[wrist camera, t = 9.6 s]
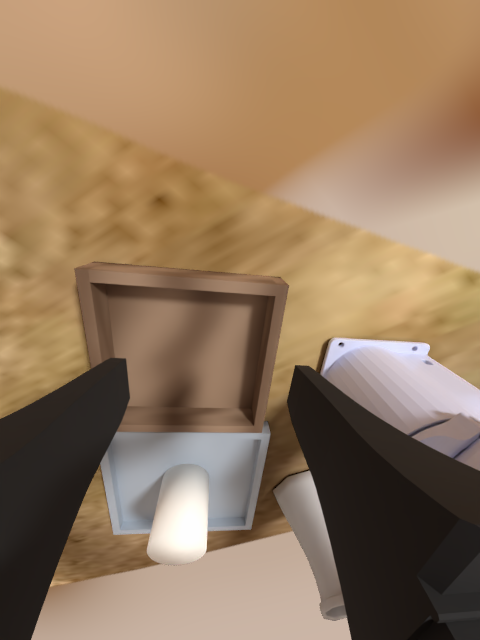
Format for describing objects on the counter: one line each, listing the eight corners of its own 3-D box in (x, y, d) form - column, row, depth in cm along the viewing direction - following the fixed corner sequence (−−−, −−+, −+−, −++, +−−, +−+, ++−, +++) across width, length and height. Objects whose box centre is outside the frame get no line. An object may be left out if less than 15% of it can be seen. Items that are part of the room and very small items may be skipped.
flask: (292, 513, 31) (323, 637, 22) (261, 488, 28) (281, 616, 19) (341, 489, 30) (395, 609, 21) (313, 460, 27) (361, 582, 18)
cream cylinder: (205, 460, 25) (201, 529, 19) (212, 490, 27) (210, 560, 21) (157, 467, 25) (140, 538, 19) (168, 496, 27) (154, 569, 21)
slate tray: (267, 421, 24) (270, 433, 23) (249, 515, 30) (251, 529, 29) (102, 419, 22) (94, 432, 21) (118, 519, 28) (113, 534, 27)
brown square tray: (280, 277, 18) (288, 285, 16) (257, 412, 24) (261, 432, 21) (94, 261, 17) (74, 268, 14) (114, 409, 22) (101, 431, 20)
